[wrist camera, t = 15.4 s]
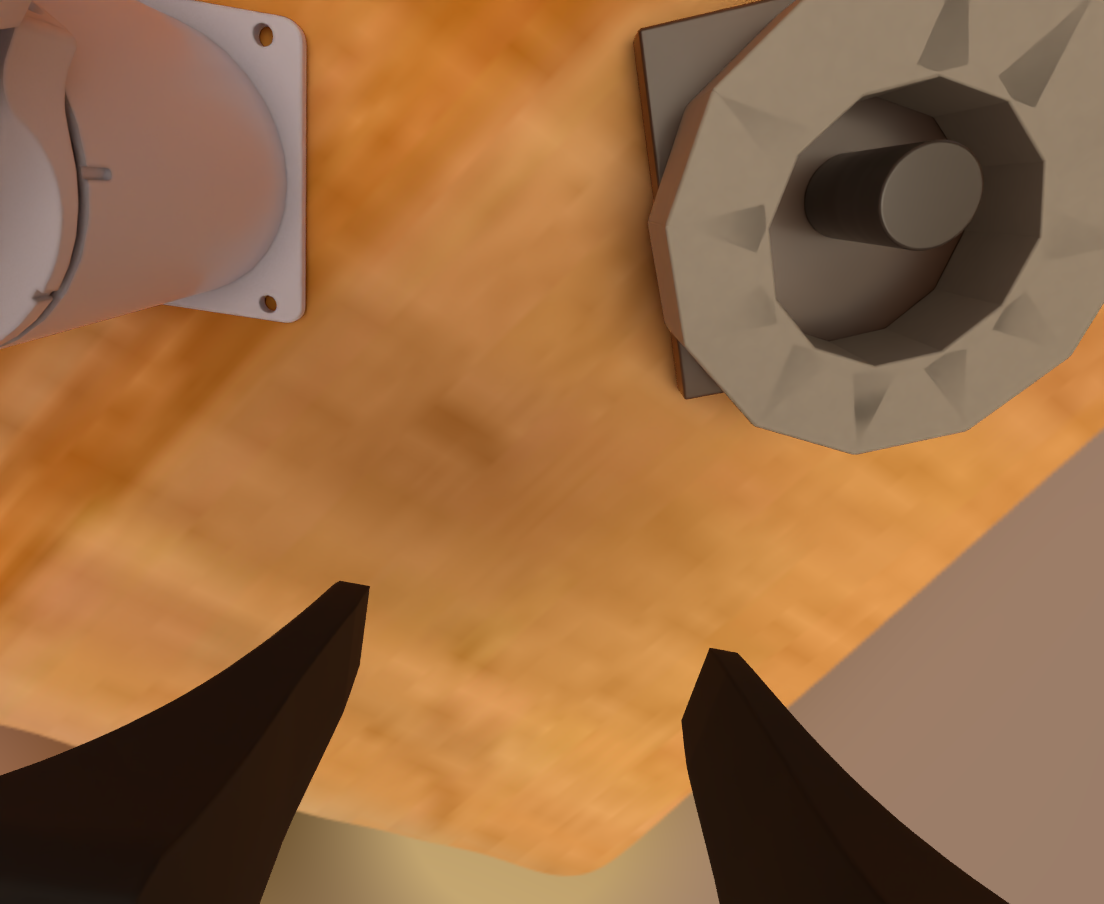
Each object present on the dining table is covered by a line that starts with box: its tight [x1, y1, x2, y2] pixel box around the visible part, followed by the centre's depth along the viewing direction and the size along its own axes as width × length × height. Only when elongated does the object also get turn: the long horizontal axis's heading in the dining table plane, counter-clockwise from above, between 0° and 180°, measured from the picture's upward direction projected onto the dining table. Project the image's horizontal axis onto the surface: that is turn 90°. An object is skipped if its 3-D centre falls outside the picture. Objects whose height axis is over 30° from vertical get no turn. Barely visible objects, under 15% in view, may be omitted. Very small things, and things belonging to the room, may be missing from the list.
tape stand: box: [633, 0, 984, 399], centre depth 16 cm, size 10×10×6 cm
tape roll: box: [648, 0, 1104, 454], centre depth 16 cm, size 11×11×3 cm
